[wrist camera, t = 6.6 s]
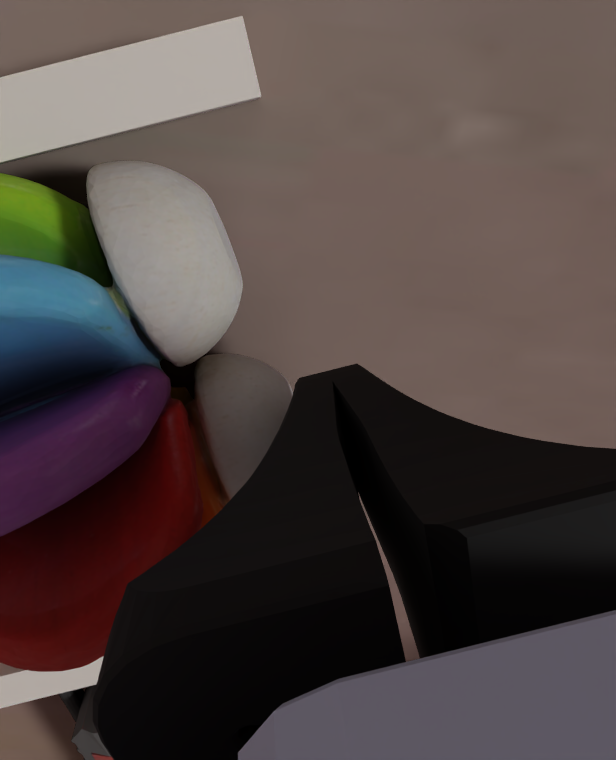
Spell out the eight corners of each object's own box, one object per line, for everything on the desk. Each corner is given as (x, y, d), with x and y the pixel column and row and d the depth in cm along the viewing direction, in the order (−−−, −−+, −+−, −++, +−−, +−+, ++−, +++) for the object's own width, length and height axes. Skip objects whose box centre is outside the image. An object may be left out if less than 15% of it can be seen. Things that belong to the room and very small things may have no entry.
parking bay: (242, 32, 11) (242, 15, 9) (368, 561, 17) (382, 613, 15) (-406, 196, 11) (-535, 213, 9) (-40, 662, 17) (-73, 726, 15)
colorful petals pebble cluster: (50, 553, 16) (-82, 854, 10) (-190, 236, 12) (-731, 388, 5) (325, 458, 16) (384, 704, 9) (179, 92, 11) (93, 63, 5)
